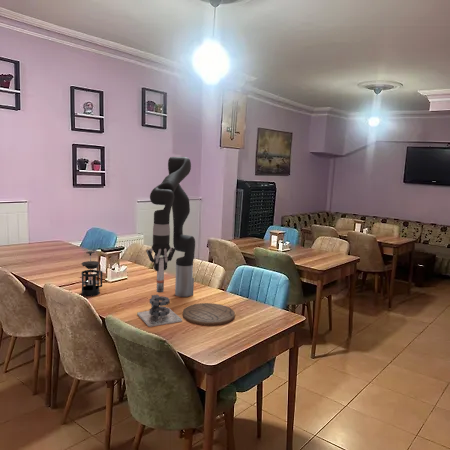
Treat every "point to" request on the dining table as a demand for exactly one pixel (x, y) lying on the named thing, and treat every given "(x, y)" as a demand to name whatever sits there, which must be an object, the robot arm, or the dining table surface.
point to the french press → (90, 285)
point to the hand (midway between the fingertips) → (160, 270)
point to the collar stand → (159, 312)
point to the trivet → (208, 314)
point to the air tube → (160, 275)
